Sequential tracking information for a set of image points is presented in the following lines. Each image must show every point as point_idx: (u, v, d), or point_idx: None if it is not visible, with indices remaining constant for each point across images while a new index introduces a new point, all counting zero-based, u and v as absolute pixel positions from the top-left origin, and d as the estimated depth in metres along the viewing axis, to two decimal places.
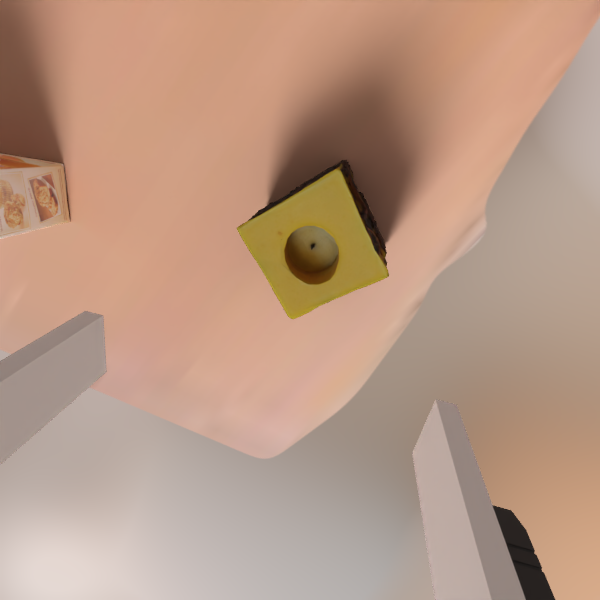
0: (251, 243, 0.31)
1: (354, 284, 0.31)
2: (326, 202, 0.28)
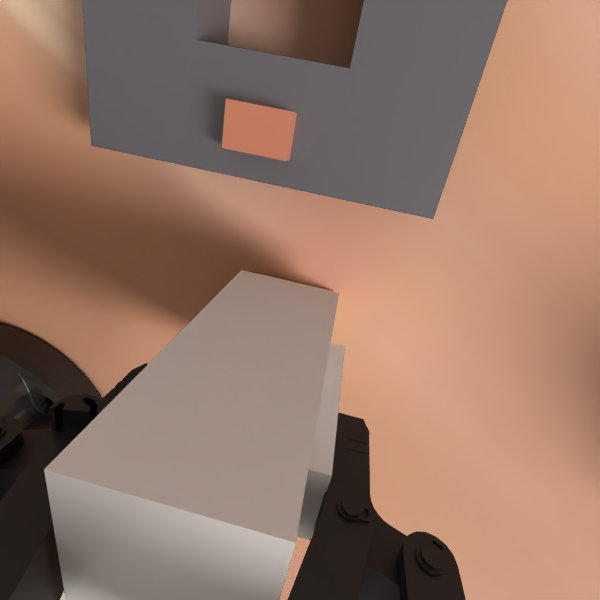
0: None
1: None
2: None
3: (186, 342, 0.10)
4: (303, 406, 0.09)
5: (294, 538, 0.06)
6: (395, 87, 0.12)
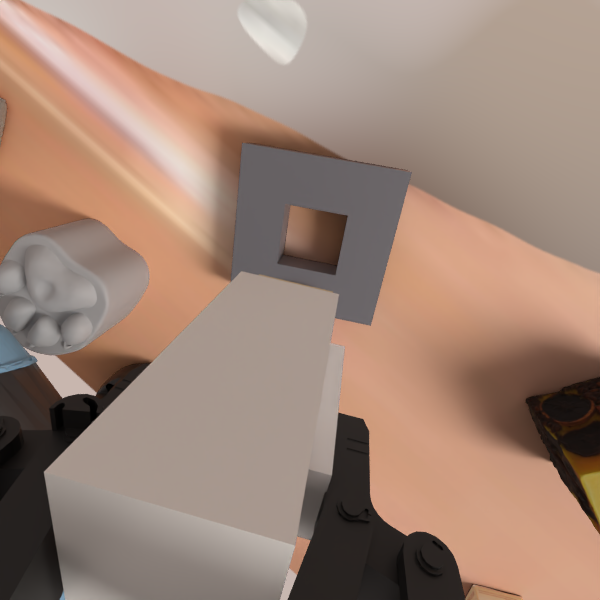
0: None
1: None
2: None
3: (186, 343, 0.10)
4: (303, 407, 0.09)
5: (293, 541, 0.06)
6: (352, 281, 0.33)
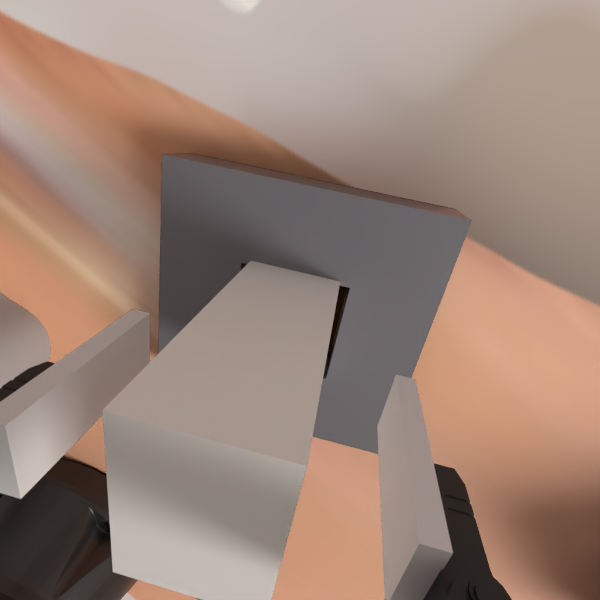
0: None
1: None
2: None
3: (206, 319, 0.12)
4: (310, 371, 0.10)
5: (305, 463, 0.07)
6: (354, 390, 0.20)
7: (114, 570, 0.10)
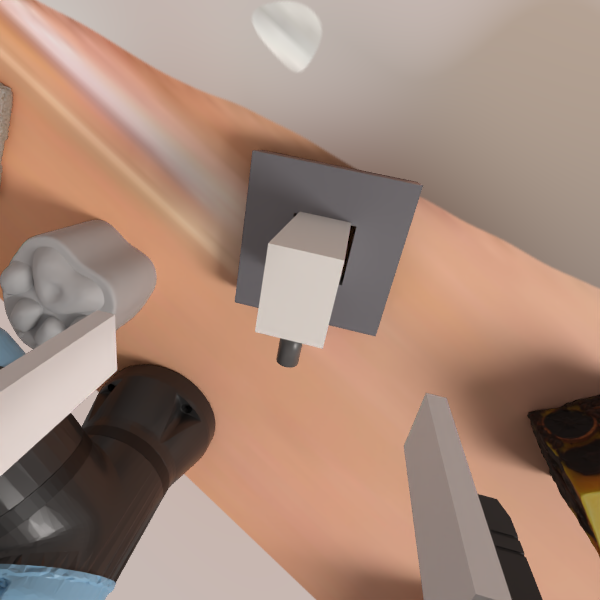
0: None
1: None
2: None
3: (290, 228, 0.25)
4: (341, 244, 0.23)
5: (344, 259, 0.20)
6: (358, 292, 0.33)
7: (256, 330, 0.23)
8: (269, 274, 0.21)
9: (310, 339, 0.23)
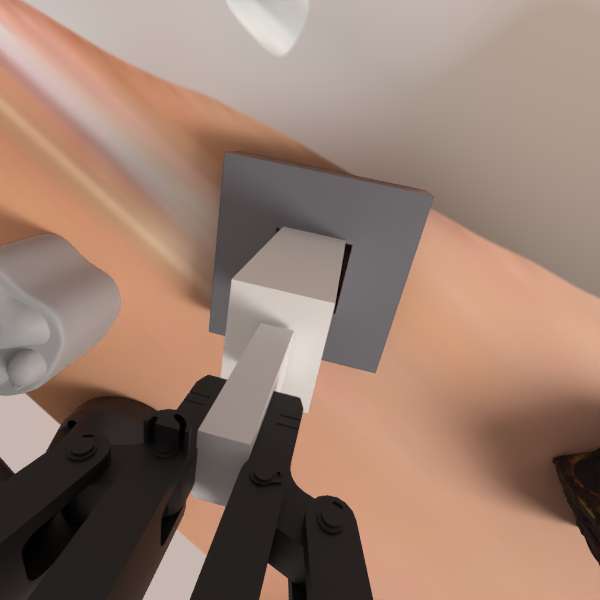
0: None
1: None
2: None
3: (267, 251, 0.19)
4: (332, 275, 0.18)
5: (334, 302, 0.15)
6: (355, 322, 0.27)
7: None
8: (234, 319, 0.16)
9: None
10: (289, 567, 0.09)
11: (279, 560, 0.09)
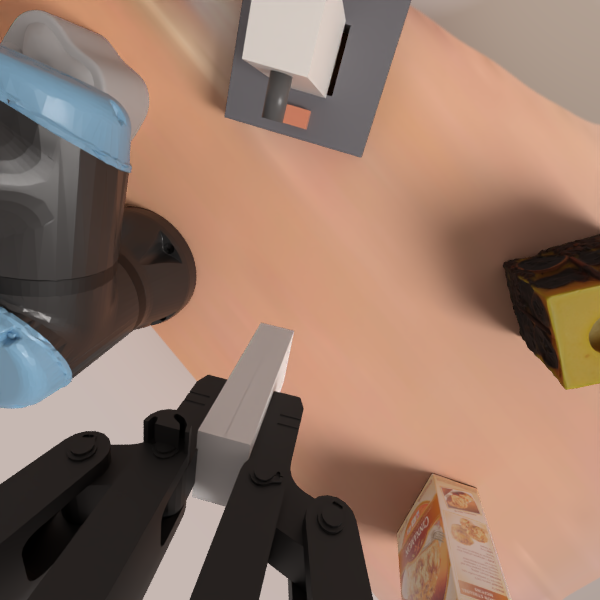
0: (586, 381, 0.32)
1: None
2: (574, 312, 0.30)
3: None
4: None
5: None
6: (348, 104, 0.33)
7: (243, 56, 0.23)
8: None
9: (296, 66, 0.23)
10: (289, 567, 0.09)
11: (279, 560, 0.09)
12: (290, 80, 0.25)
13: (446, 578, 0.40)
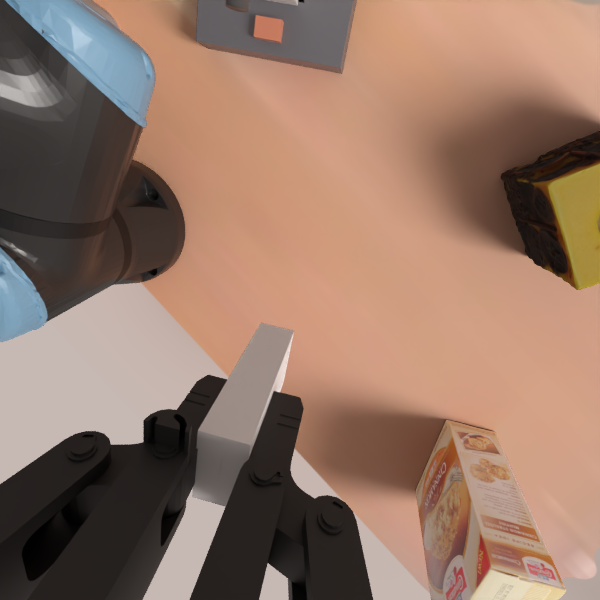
0: (599, 277, 0.30)
1: None
2: (579, 197, 0.28)
3: None
4: None
5: None
6: (321, 9, 0.32)
7: None
8: None
9: None
10: (289, 567, 0.09)
11: (279, 560, 0.09)
12: None
13: (467, 515, 0.38)
